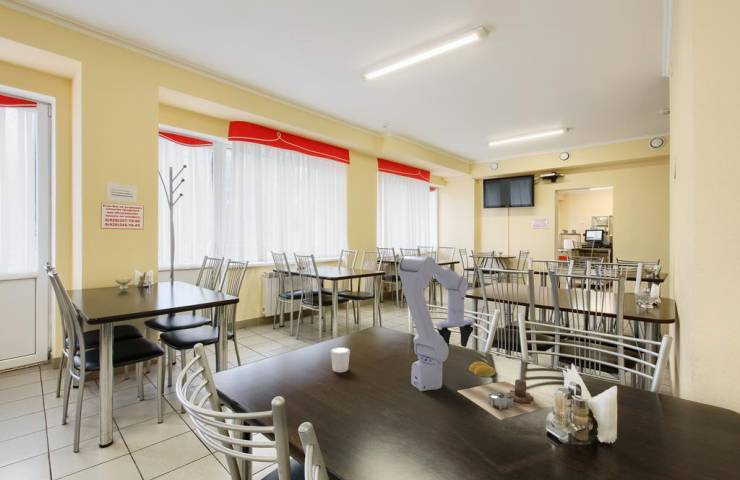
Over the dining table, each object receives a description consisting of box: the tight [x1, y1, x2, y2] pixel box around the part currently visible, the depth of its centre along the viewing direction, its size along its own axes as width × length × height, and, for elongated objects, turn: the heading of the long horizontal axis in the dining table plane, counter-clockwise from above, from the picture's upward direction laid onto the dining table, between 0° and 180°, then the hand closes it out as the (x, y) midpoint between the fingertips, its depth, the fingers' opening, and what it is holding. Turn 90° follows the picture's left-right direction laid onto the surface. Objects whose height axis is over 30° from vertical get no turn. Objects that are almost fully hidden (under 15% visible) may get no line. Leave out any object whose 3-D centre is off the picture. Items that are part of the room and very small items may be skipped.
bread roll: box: [468, 361, 496, 378], centre depth 124 cm, size 8×9×4 cm
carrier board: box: [457, 380, 554, 421], centre depth 104 cm, size 20×18×1 cm
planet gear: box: [507, 379, 533, 405], centre depth 103 cm, size 7×7×5 cm
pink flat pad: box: [513, 400, 534, 407], centre depth 103 cm, size 8×8×1 cm
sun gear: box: [488, 391, 513, 411], centre depth 100 cm, size 7×7×3 cm
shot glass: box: [330, 346, 351, 373], centre depth 127 cm, size 7×7×7 cm
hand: (454, 347), depth 124 cm, fingers open, 7 cm apart
